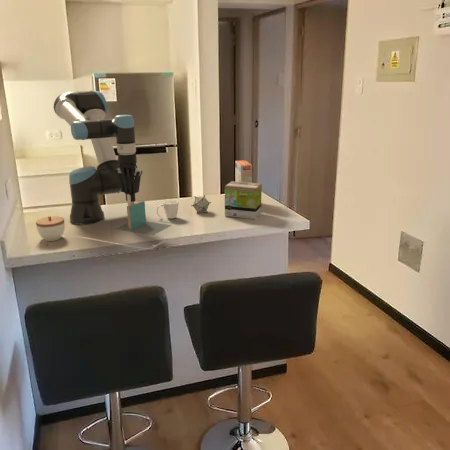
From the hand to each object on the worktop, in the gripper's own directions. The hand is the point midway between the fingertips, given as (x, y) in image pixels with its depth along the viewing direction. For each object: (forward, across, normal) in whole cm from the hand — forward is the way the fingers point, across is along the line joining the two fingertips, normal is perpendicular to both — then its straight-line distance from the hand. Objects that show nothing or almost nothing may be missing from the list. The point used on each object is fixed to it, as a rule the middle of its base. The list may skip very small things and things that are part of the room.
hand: (131, 208), depth 202 cm
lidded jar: (+8, -20, -26) cm, 34 cm away
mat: (+8, +5, 0) cm, 10 cm away
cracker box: (+8, +28, +54) cm, 61 cm away
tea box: (+9, +36, +36) cm, 51 cm away
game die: (+8, +16, +32) cm, 36 cm away
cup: (+8, +8, +15) cm, 19 cm away
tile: (+8, +2, 0) cm, 8 cm away
